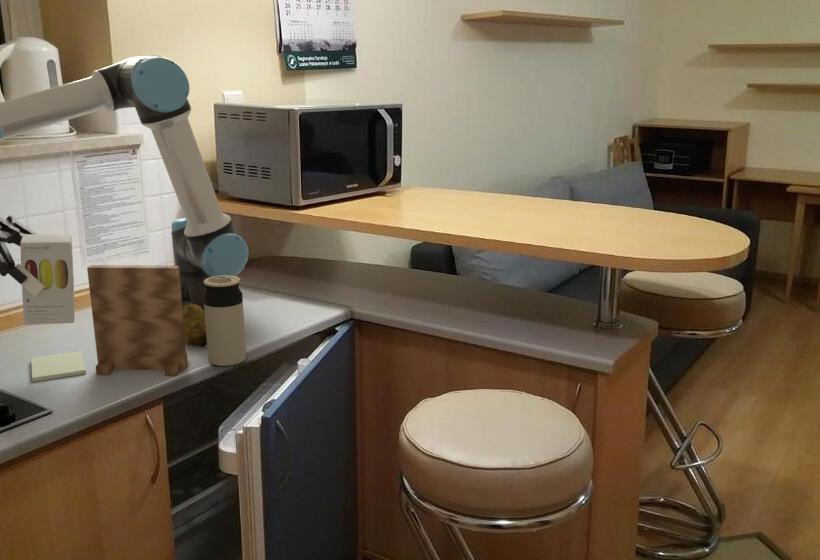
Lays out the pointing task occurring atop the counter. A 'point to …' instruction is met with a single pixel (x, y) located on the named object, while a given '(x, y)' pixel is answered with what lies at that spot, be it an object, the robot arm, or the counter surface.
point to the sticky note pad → (57, 366)
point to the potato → (194, 325)
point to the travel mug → (224, 320)
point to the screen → (137, 318)
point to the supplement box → (48, 278)
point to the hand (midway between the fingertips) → (54, 283)
